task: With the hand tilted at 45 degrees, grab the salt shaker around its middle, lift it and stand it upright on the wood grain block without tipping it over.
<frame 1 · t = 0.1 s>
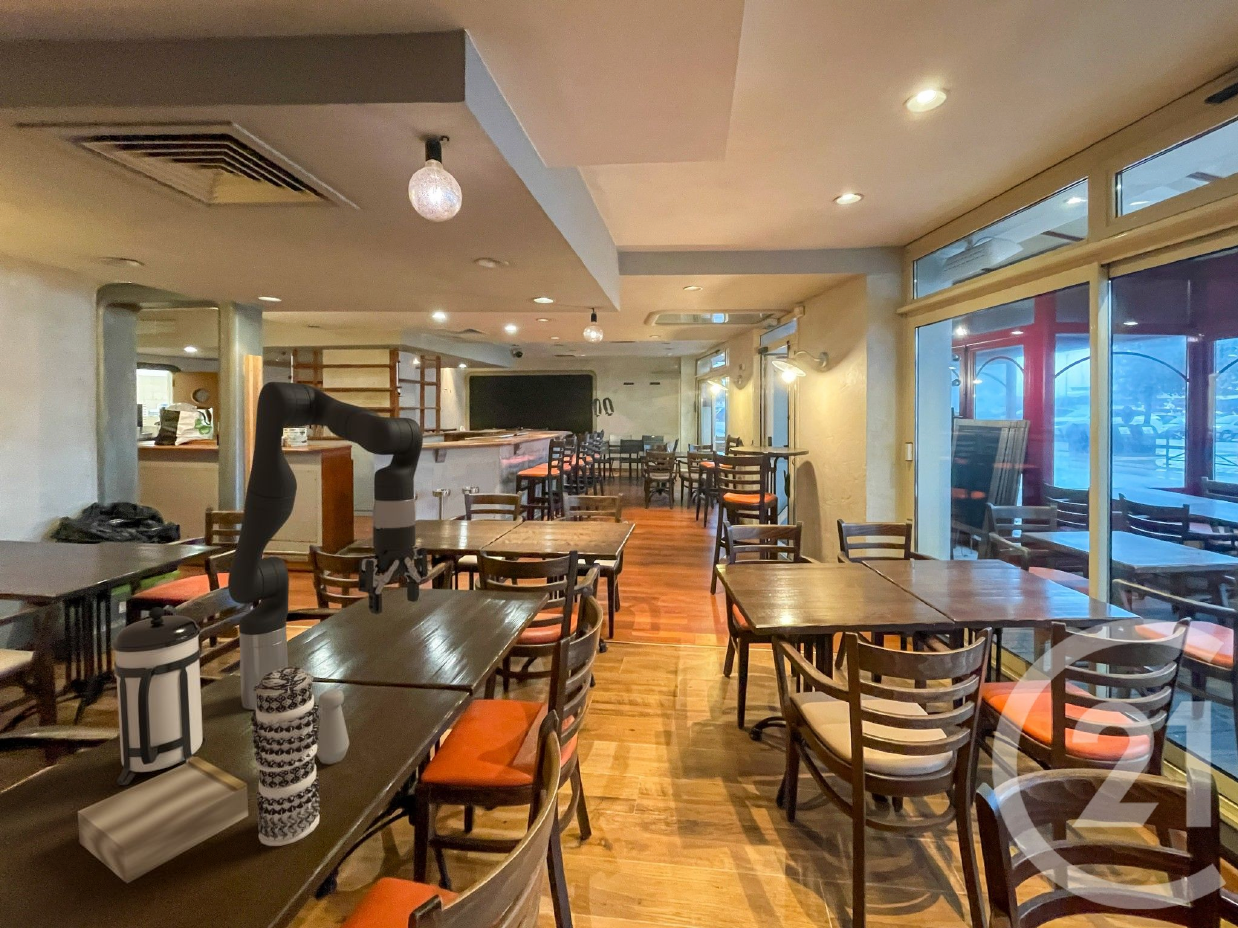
hand: (394, 606, 109), 29 cm above the table, tool pointing down, fingers open, 8 cm apart
salt shaker: (332, 759, 110), on the table
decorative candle: (289, 828, 91), on the table
coffee press: (165, 767, 107), on the table
wood grain block: (166, 828, 90), on the table
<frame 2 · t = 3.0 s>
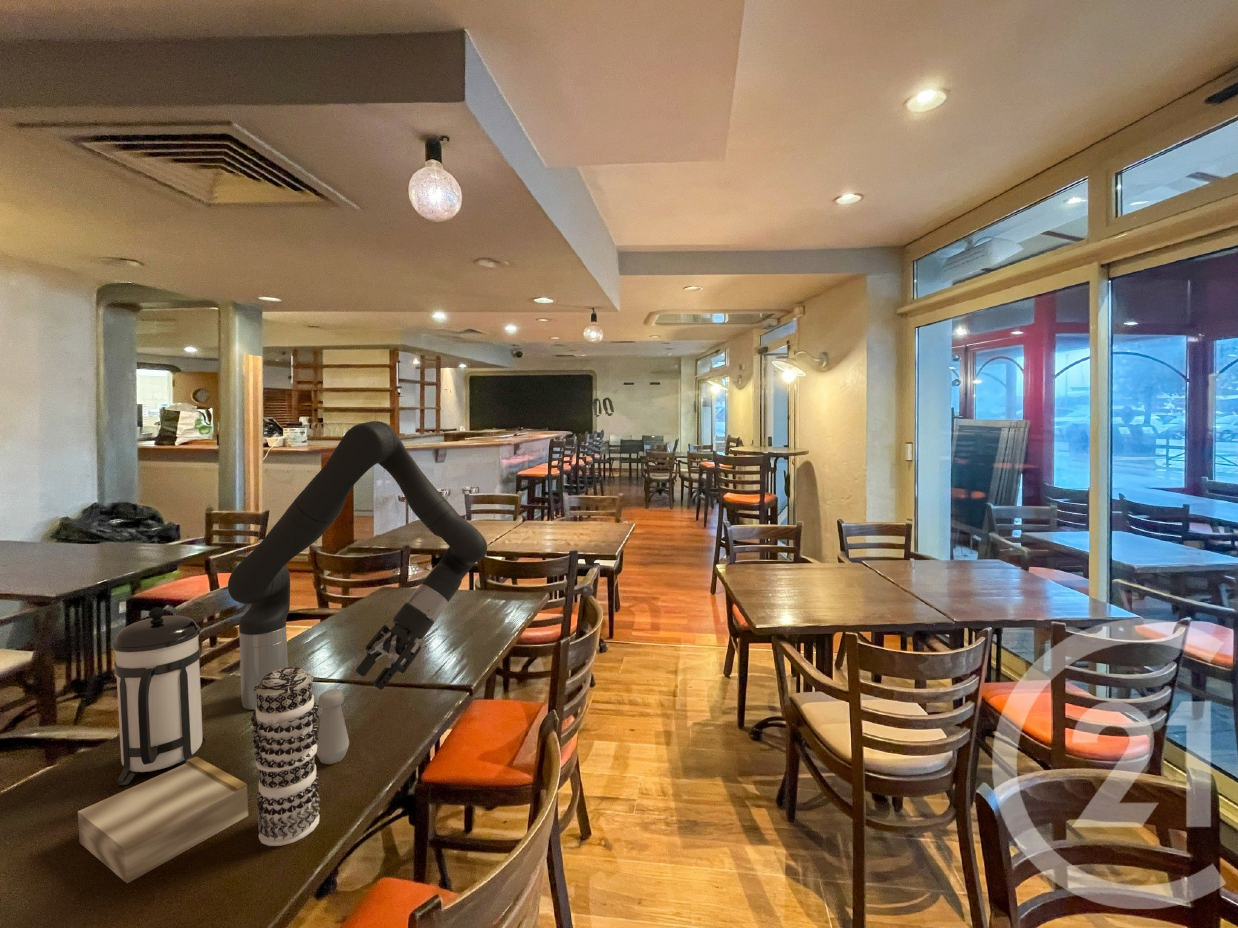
hand: (367, 680, 114), 13 cm above the table, tool tilted 45°, fingers open, 8 cm apart
nothing on the table moved.
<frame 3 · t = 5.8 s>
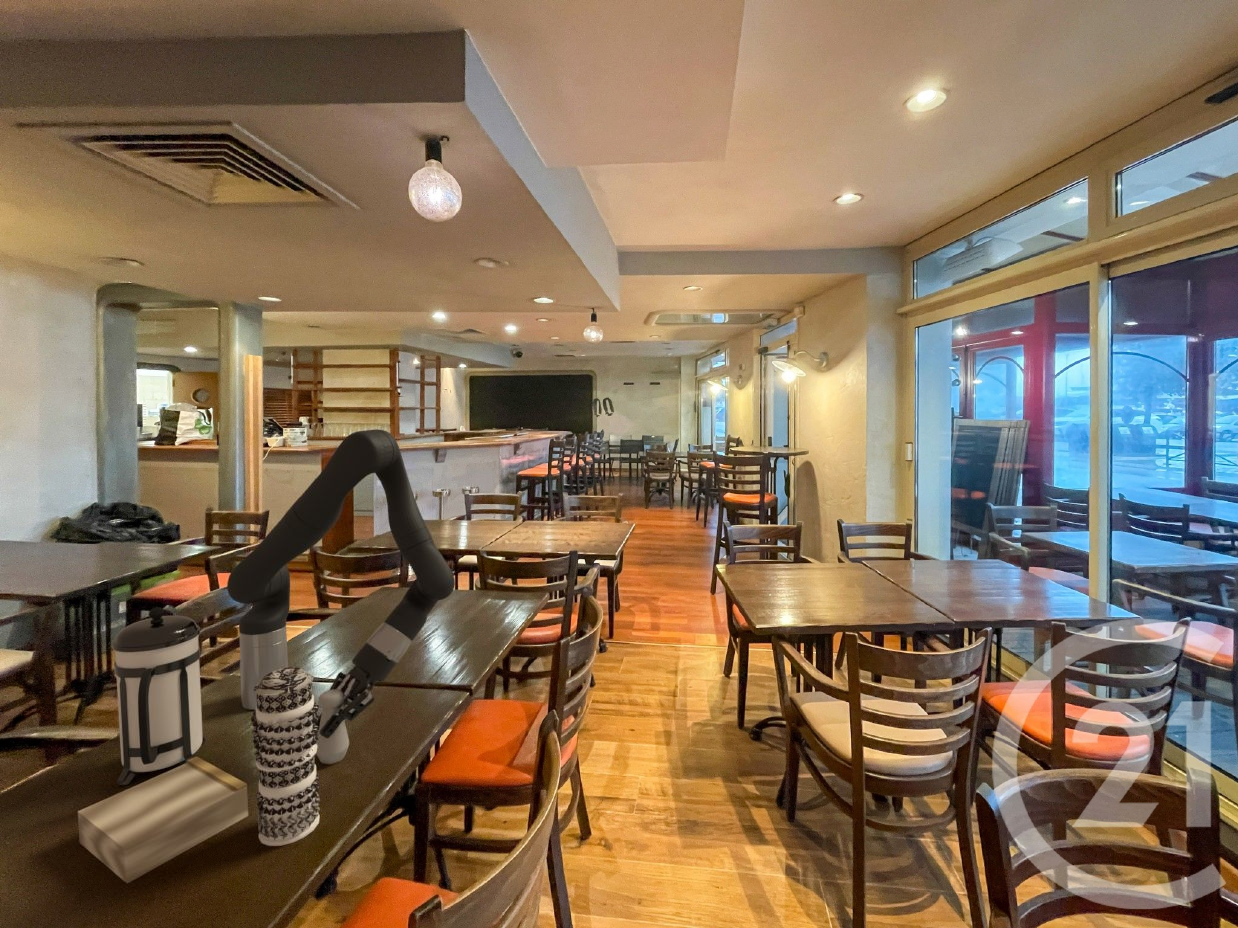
hand: (320, 731, 108), 6 cm above the table, tool tilted 45°, fingers closed on salt shaker, 3 cm apart
salt shaker: (332, 759, 110), on the table, touching gripper
everything else where it was.
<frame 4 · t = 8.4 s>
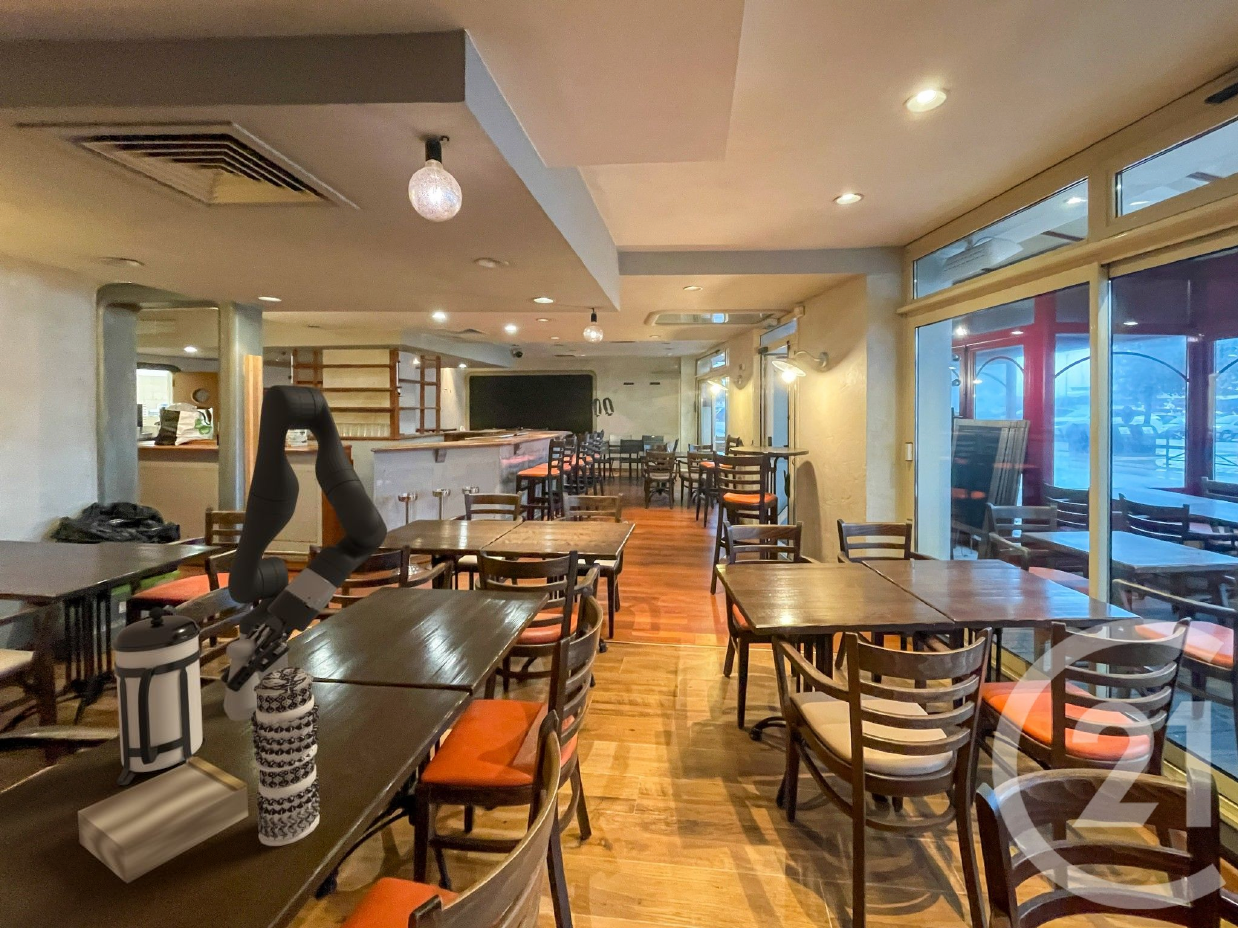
hand: (228, 685, 97), 20 cm above the table, tool tilted 45°, fingers closed on salt shaker, 3 cm apart
salt shaker: (244, 716, 99), point 14 cm above the table, touching gripper
everything else where it was.
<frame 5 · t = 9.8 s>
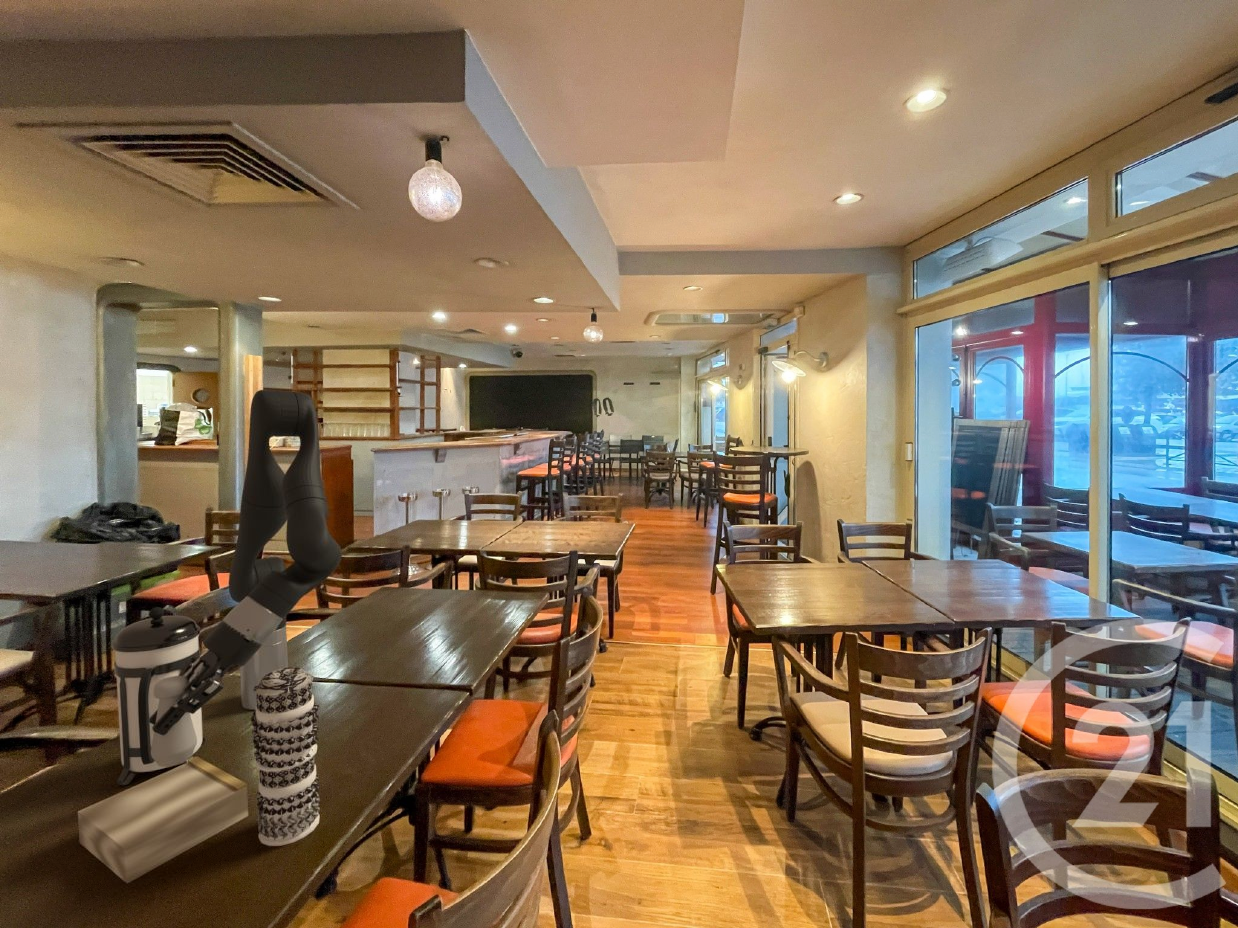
hand: (156, 727, 88), 17 cm above the table, tool tilted 45°, fingers closed on salt shaker, 3 cm apart
salt shaker: (175, 760, 90), point 11 cm above the table, touching gripper
everything else where it was.
when the fingers open (12 cm above the table, at t = 11.0 s): salt shaker drops 1 cm, resting on wood grain block.
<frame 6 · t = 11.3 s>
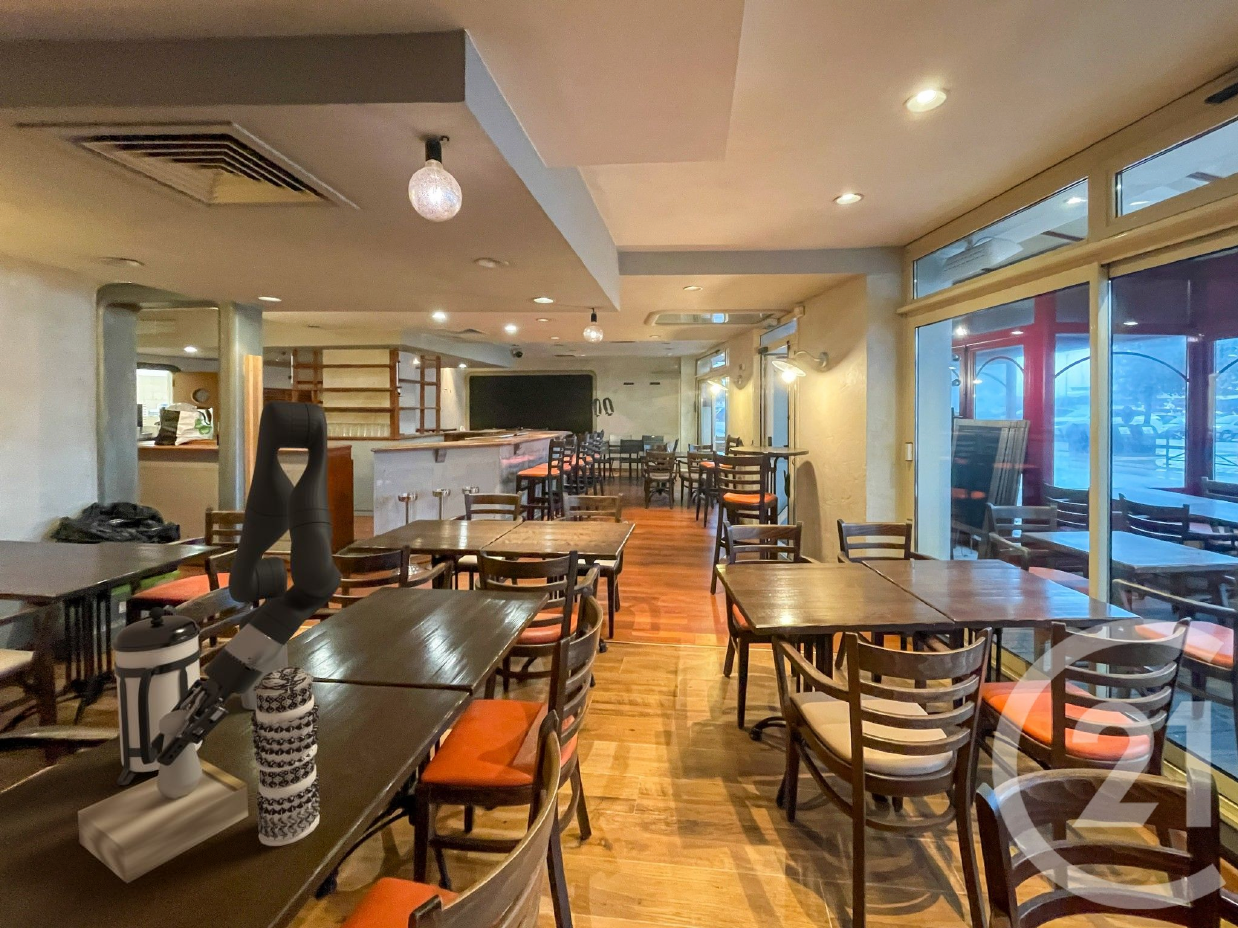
hand: (159, 754, 89), 13 cm above the table, tool tilted 45°, fingers open, 5 cm apart
salt shaker: (181, 792, 92), point 5 cm above the table, touching wood grain block, gripper
everything else where it was.
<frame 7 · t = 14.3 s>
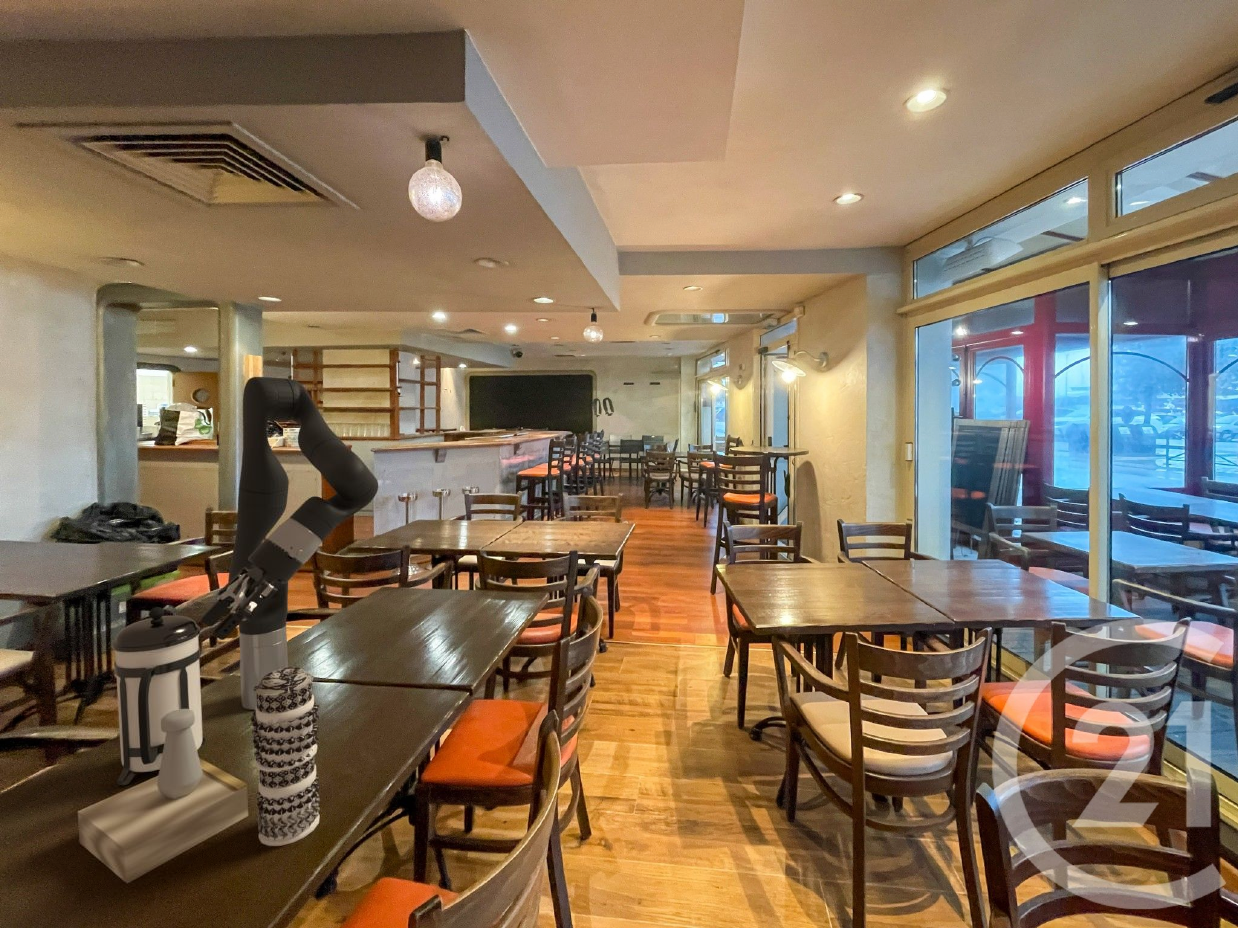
hand: (210, 629, 93), 30 cm above the table, tool tilted 45°, fingers open, 8 cm apart
salt shaker: (181, 792, 92), point 5 cm above the table, touching wood grain block
everything else where it was.
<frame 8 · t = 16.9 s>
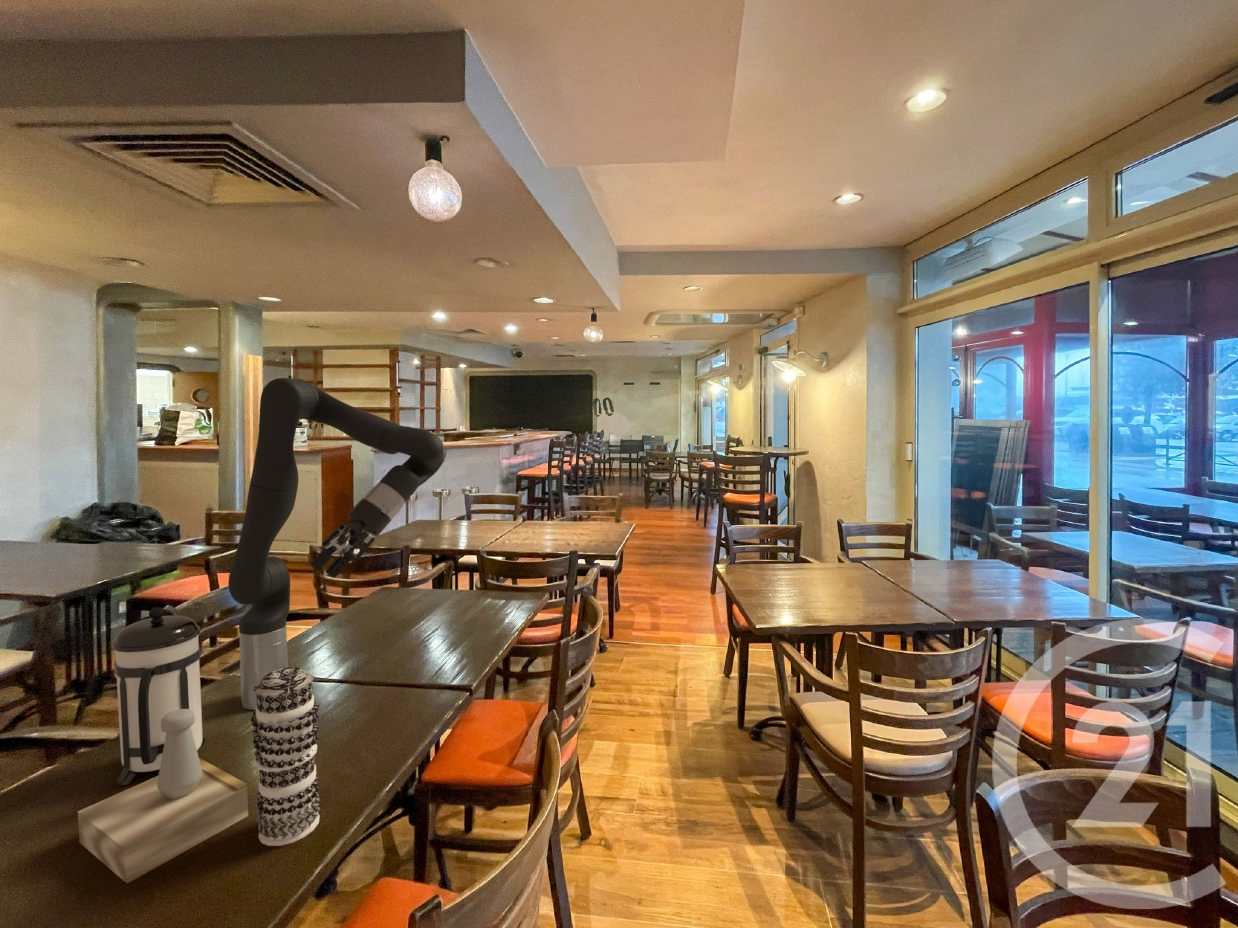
hand: (321, 571, 114), 35 cm above the table, tool tilted 45°, fingers open, 8 cm apart
nothing on the table moved.
at the end: salt shaker inside the target area on the wood grain block (2.1 cm from its centre), point 4.8 cm above the wood grain block's base; salt shaker tilted 0°; the gripper is holding nothing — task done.
